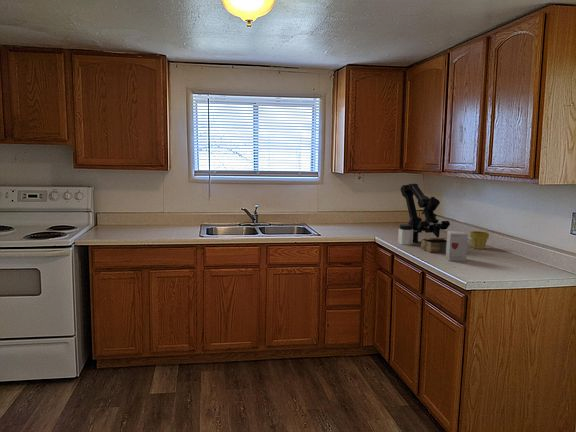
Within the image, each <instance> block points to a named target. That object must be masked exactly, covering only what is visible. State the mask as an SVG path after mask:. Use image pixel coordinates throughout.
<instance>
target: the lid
mask: <svg viewBox="0 0 576 432" xmlns="http://www.w3.org/2000/svg"><path fill="white" fill-rule="evenodd" d="M421 239H429V240H434V239H444V240H447V237H421ZM421 239H420V240H421Z"/></svg>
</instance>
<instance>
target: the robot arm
mask: <svg viewBox="0 0 576 432" xmlns="http://www.w3.org/2000/svg"><path fill="white" fill-rule="evenodd" d="M400 192H401V195H402V196H403V197H404V199H405V202H406V206H407V212H408V214H409V220H408V223H407V224H410V225H413V243H420V241H419V234H421V233H422V232H425V233H429V234H430V233H431V234H433V235H434V236H435V238H440V232H441V230H447V229H448V228H449V226H450V225H451V223H450V220H442V221H441V222H439V219H437V214H436V213H435V212H434V211H436V210H437V208H438V207H439V206H440V204H441V202H440V200H439V199H438V198H436V197H435V196H431V197H428V196H426V195H425V194H424V192H423V191H422V190H421V188H420V187H419V185H418V183H409V184H402V186H400ZM414 197H415V198H416V200H417V205H418V207H419V208H420V209H421V208H422V212H421V214H422V215H424V218H425V219H424V220H422V218H421V217H419V216H418V213H417V212H418V211H417V208H416V203H415V200H414Z"/></svg>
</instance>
